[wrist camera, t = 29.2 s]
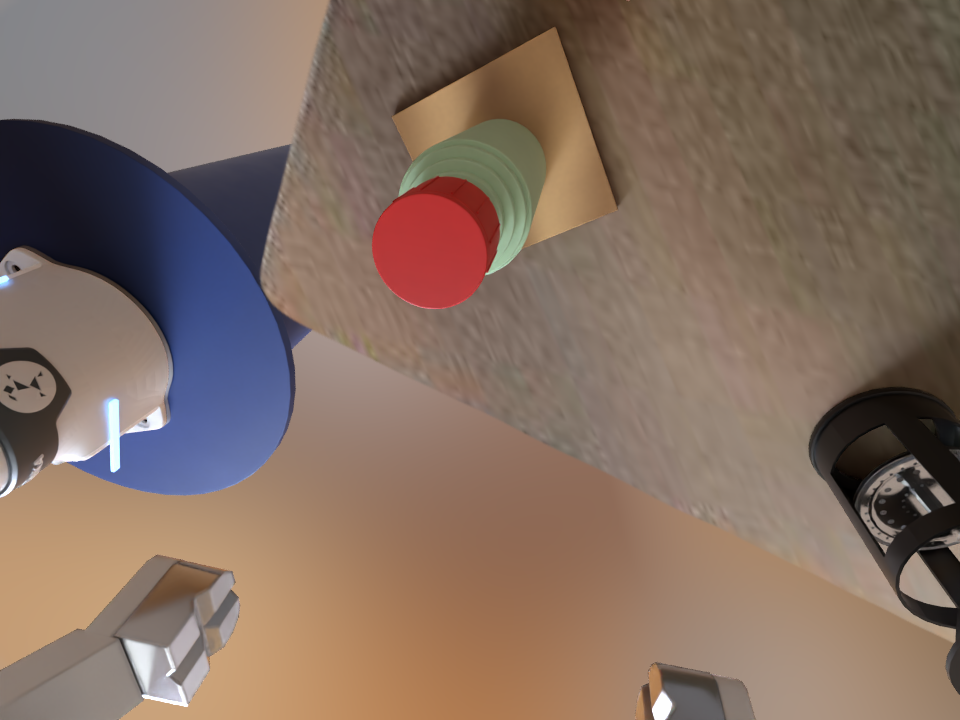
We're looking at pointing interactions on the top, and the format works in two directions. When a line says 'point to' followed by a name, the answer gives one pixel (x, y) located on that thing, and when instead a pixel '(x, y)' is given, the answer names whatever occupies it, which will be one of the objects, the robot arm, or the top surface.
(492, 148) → the sauce bottle
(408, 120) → the cork coaster
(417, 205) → the red cap
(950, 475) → the french press
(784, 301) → the top surface
